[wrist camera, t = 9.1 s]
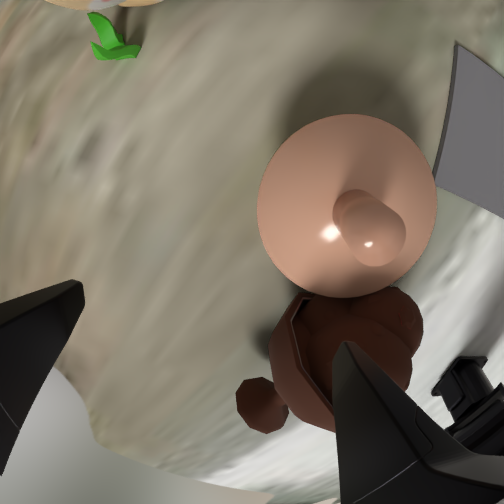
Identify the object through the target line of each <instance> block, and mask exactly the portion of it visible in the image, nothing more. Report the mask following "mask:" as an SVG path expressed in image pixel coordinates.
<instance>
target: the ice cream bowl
mask: <svg viewBox="0 0 504 504" xmlns="http://www.w3.org/2000/svg"><path fill="white" fill-rule="evenodd" d="M422 336H423V318H422V315H421V313H420V310H419V308H418V306H417V304H416V303H415V302H414V301H413V300H412V298H411V297H410V296H409V295H407V294H406V293H404V292H402V291H401V290H400V289H399V288H398V287H388V286H387V287H385V288H383V289H381V290H379V291H376V292H373V293H371V294H367V295H363V296H358V297H351V298H335V297H327V296H323V295H319V294H311V293H301V292H299V293H298V294H297V296H296V297H295V298H294V300H293V301H292V302H291V304H290V305H289V306H288V308H287V309H286V311H285V313H284V314H283V316H282V318H281V319H280V321H279V323H278V324H277V326H276V328H275V329H274V331H273V333H272V336H271V338H270V341H269V343H268V349H269V358H270V364H271V370H272V376H273V381H274V383H273V382H271V381H269V380H267V379H265V378H263V377H258V378H253V379H247V380H244V381H243V382H242V384H241V385H240V387H239V388H238V390H237V391H236V402H237V411H238V413H239V414H240V415H241V417H242V418H243V419H244V421H245V422H246V423H247V425H248V426H249V427H250V428H252V429H255V430H257V431H260V432H263V433H265V434H268V433H271V432H273V431H276V430H279V429H281V428H282V427H283V426H284V423H285V421H286V419H287V417H288V414H289V410H288V407H289V408H290V410H291V411H292V412H293V414H294V415H295V416H297V417H298V418H299V419H301V420H302V421H304V422H306V423H309V424H312V425H314V426H317V427H320V428H323V429H326V430H328V431H331V432H334V433H336V431H335V421H334V412H333V400H332V362H333V358H334V356H335V354H336V352H337V350H338V348H339V346H340V345H341V343H342V342H343V341H351V342H355V343H356V344H357V345H358V346H359V347H360V348H361V349H362V350H363V351H364V352H365V353H366V354H367V355H368V356H369V357H370V358H371V359H372V360H373V361H374V362H375V363H376V364H377V365H378V366H379V367H380V368H381V369H382V370H383V371H384V372H385V373H386V374H387V375H388V376H389V377H390V378H391V379H392V380H393V381H394V382H395V383H396V384H397V385H398V386H399V387H400V388H401V389H402V390H403V391H404V392H405V391H406V390H407V388H408V386H409V383H410V379H411V374H412V360H411V358H412V357H413V355H414V354H415V352H416V351H417V349H418V348H419V346H420V343H421V340H422Z"/></svg>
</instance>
